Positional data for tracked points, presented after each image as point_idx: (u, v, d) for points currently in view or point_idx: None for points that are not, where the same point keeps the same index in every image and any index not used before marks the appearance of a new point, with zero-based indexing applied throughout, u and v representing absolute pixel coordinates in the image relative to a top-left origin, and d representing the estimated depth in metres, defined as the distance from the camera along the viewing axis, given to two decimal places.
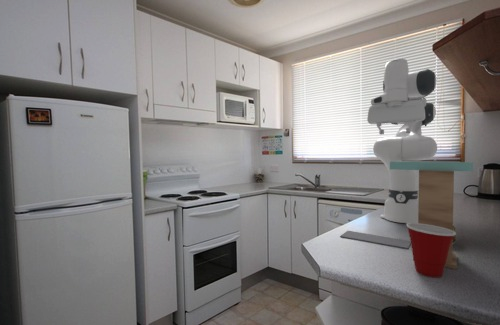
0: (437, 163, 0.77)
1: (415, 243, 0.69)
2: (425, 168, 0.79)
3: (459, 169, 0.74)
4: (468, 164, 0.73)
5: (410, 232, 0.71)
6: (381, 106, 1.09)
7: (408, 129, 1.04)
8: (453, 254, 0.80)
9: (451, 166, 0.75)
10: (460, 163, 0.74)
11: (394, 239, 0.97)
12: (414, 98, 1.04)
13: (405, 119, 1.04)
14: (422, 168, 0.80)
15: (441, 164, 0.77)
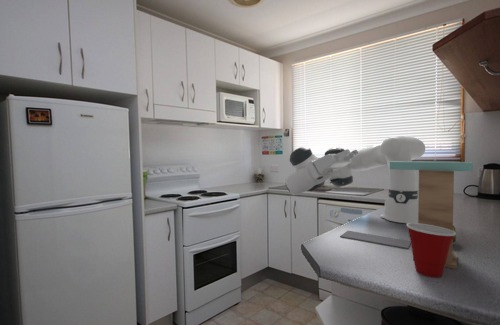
0: (437, 163, 0.77)
1: (415, 243, 0.69)
2: (425, 168, 0.79)
3: (459, 169, 0.74)
4: (468, 164, 0.73)
5: (410, 232, 0.71)
6: None
7: None
8: (453, 254, 0.80)
9: (451, 166, 0.75)
10: (460, 163, 0.74)
11: (394, 239, 0.97)
12: None
13: None
14: (422, 168, 0.80)
15: (441, 164, 0.77)
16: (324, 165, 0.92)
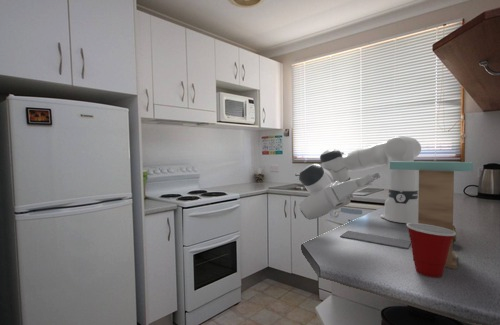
0: (437, 163, 0.77)
1: (415, 243, 0.69)
2: (425, 168, 0.79)
3: (459, 169, 0.74)
4: (468, 164, 0.73)
5: (410, 232, 0.71)
6: (338, 185, 0.91)
7: (374, 174, 0.93)
8: (453, 254, 0.80)
9: (451, 166, 0.75)
10: (460, 163, 0.74)
11: (394, 239, 0.97)
12: None
13: (362, 177, 0.94)
14: (422, 168, 0.80)
15: (441, 164, 0.77)
16: (345, 192, 0.84)
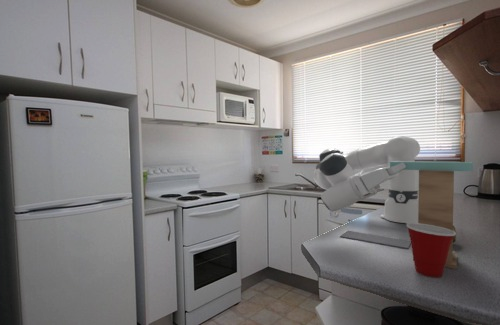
0: (437, 163, 0.77)
1: (415, 243, 0.69)
2: (425, 168, 0.79)
3: (459, 169, 0.74)
4: (468, 164, 0.73)
5: (410, 232, 0.71)
6: None
7: None
8: (453, 254, 0.80)
9: (451, 166, 0.75)
10: (460, 163, 0.74)
11: (394, 239, 0.97)
12: None
13: None
14: (422, 168, 0.80)
15: (441, 164, 0.77)
16: (375, 181, 0.80)
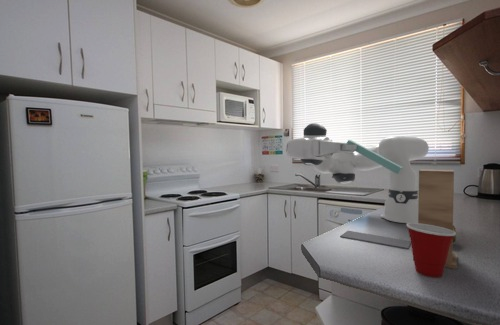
0: (378, 157, 0.95)
1: (415, 243, 0.69)
2: (368, 156, 0.97)
3: (389, 168, 0.93)
4: (397, 167, 0.91)
5: (410, 232, 0.71)
6: (326, 141, 1.03)
7: None
8: (453, 254, 0.80)
9: (386, 163, 0.93)
10: (393, 164, 0.92)
11: (394, 239, 0.97)
12: None
13: None
14: (367, 155, 0.97)
15: (381, 159, 0.94)
16: (327, 150, 0.98)
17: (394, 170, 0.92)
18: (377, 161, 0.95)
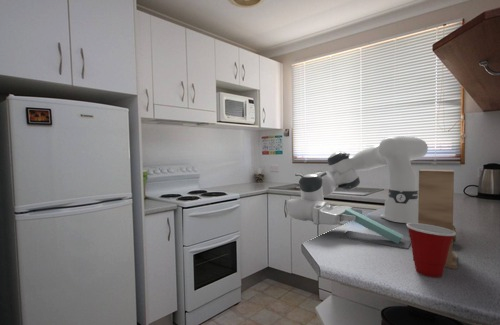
0: (377, 227, 0.96)
1: (415, 243, 0.69)
2: (367, 226, 0.97)
3: (390, 238, 0.93)
4: (397, 238, 0.92)
5: (410, 232, 0.71)
6: (325, 209, 1.04)
7: None
8: (453, 254, 0.80)
9: (385, 233, 0.94)
10: (392, 234, 0.93)
11: None
12: None
13: None
14: (365, 225, 0.98)
15: (380, 229, 0.95)
16: (326, 221, 0.99)
17: (395, 240, 0.92)
18: (376, 231, 0.96)
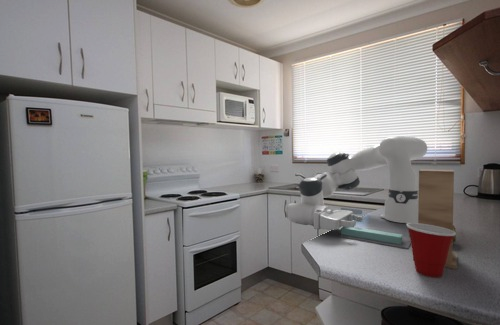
0: (375, 234, 0.96)
1: (415, 243, 0.69)
2: (367, 237, 0.98)
3: (391, 241, 0.93)
4: (397, 238, 0.92)
5: (410, 232, 0.71)
6: (325, 213, 1.04)
7: (359, 216, 1.06)
8: (453, 254, 0.80)
9: (385, 238, 0.94)
10: (392, 236, 0.93)
11: None
12: None
13: (348, 213, 1.07)
14: (365, 236, 0.98)
15: (378, 235, 0.95)
16: (327, 226, 0.98)
17: (396, 241, 0.92)
18: (376, 238, 0.96)
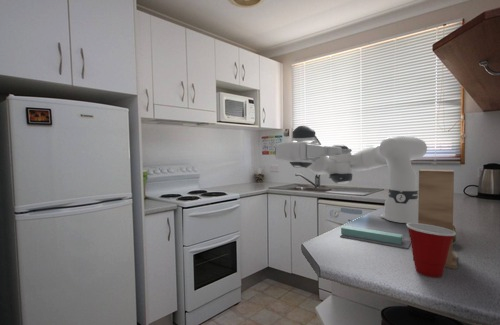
0: (375, 234, 0.96)
1: (415, 243, 0.69)
2: (367, 237, 0.98)
3: (391, 241, 0.93)
4: (397, 238, 0.92)
5: (410, 232, 0.71)
6: (313, 144, 1.03)
7: (346, 148, 1.05)
8: (453, 254, 0.80)
9: (385, 238, 0.94)
10: (392, 236, 0.93)
11: None
12: None
13: (336, 147, 1.07)
14: (365, 236, 0.98)
15: (378, 235, 0.95)
16: (314, 153, 0.98)
17: (396, 241, 0.92)
18: (376, 238, 0.96)
